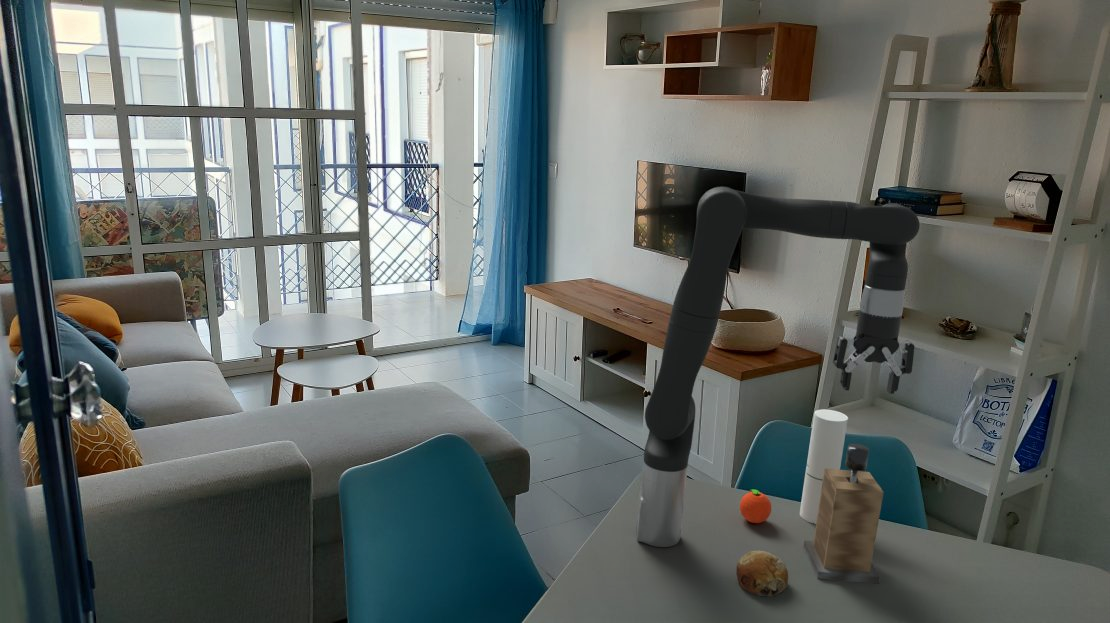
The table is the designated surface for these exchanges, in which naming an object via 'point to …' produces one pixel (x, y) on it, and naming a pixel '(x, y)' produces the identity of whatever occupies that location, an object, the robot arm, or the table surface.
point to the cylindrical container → (822, 457)
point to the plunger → (856, 459)
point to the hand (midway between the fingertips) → (868, 390)
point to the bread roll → (762, 573)
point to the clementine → (755, 506)
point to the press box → (846, 527)
